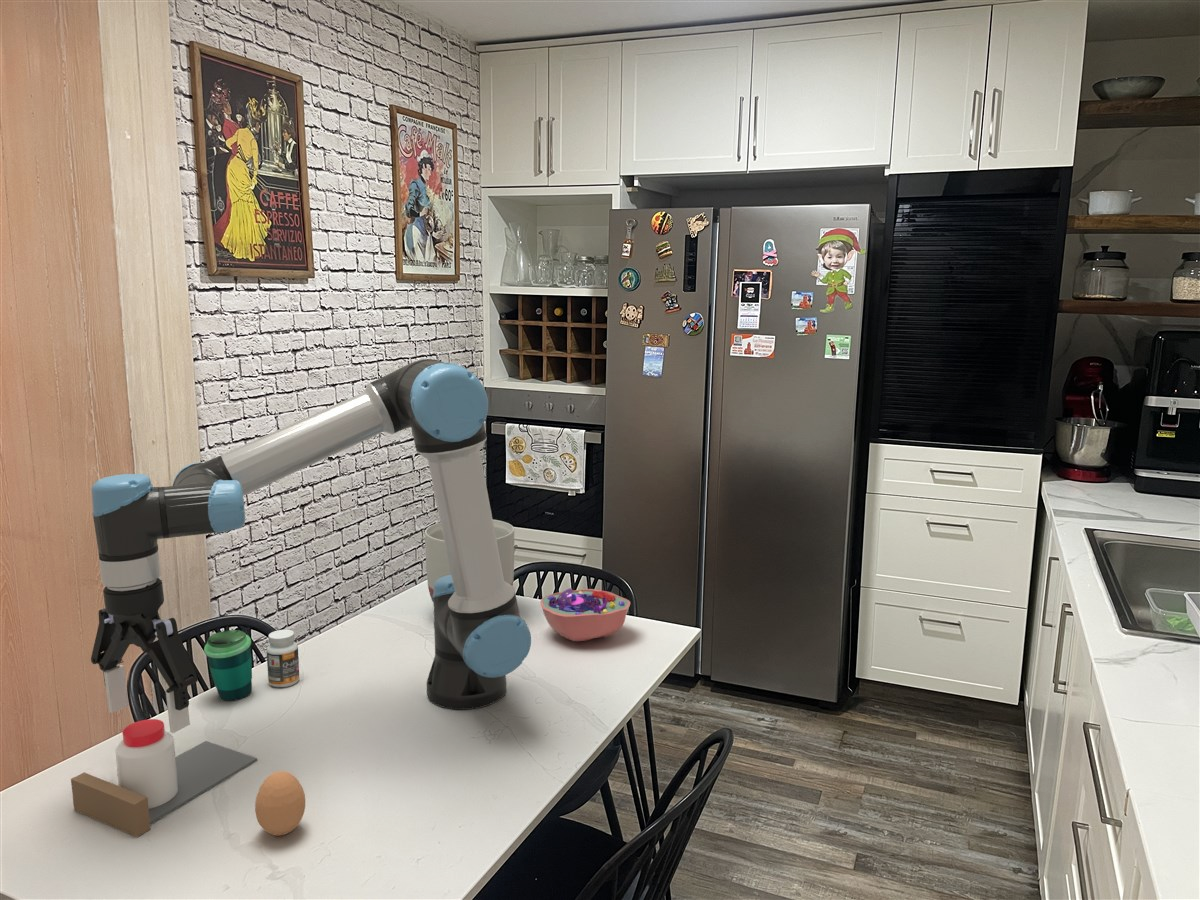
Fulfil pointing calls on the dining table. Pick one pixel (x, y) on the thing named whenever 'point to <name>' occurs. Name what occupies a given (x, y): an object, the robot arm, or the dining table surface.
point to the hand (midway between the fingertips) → (148, 718)
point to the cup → (230, 663)
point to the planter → (439, 559)
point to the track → (131, 809)
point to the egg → (280, 803)
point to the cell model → (585, 613)
